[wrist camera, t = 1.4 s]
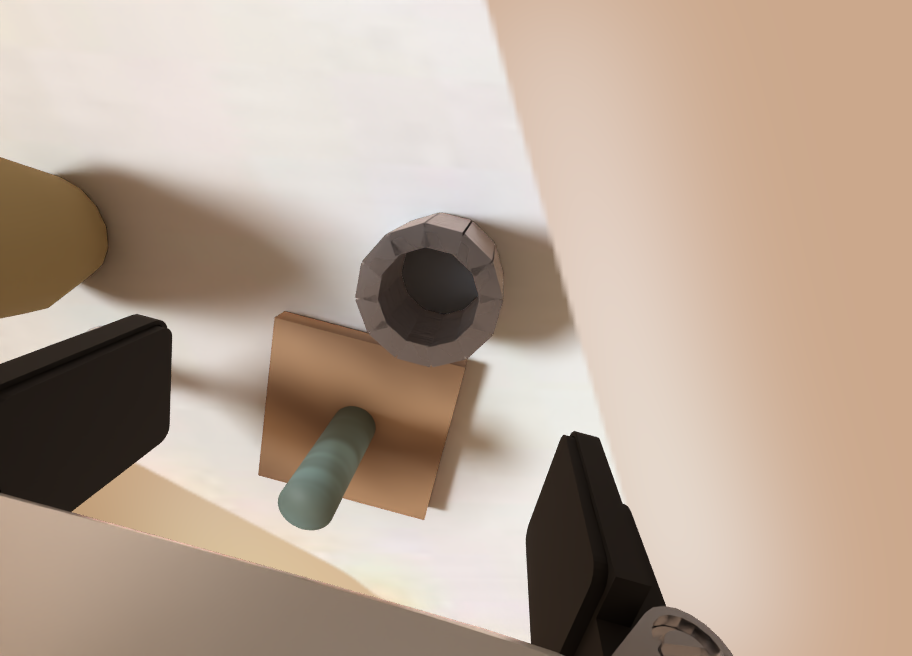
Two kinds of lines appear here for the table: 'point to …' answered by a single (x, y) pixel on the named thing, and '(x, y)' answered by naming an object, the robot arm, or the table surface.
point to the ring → (403, 318)
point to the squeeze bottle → (44, 238)
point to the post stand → (351, 422)
